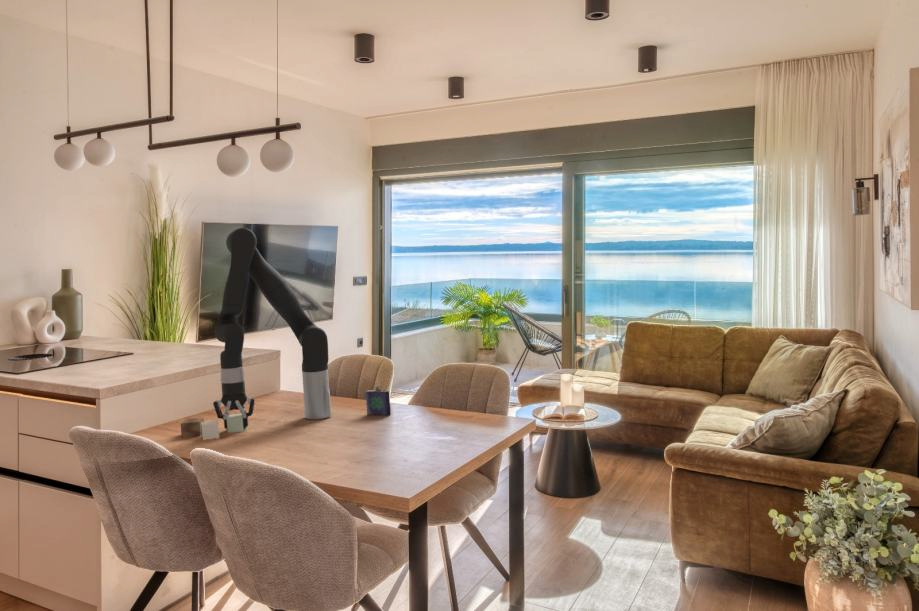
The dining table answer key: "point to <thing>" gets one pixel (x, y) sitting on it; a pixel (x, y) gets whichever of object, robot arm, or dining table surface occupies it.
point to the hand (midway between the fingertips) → (236, 428)
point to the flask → (378, 402)
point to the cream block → (210, 430)
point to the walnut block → (191, 427)
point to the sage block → (235, 423)
